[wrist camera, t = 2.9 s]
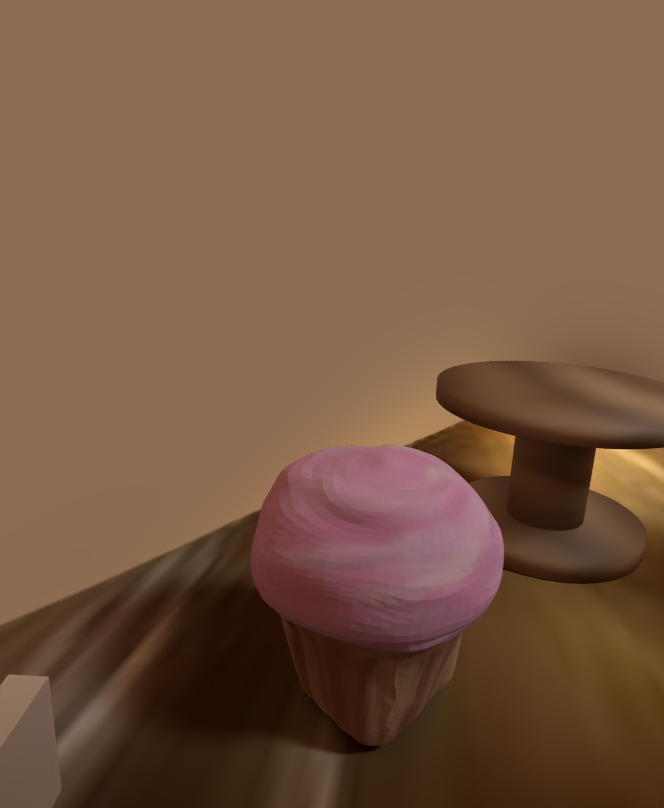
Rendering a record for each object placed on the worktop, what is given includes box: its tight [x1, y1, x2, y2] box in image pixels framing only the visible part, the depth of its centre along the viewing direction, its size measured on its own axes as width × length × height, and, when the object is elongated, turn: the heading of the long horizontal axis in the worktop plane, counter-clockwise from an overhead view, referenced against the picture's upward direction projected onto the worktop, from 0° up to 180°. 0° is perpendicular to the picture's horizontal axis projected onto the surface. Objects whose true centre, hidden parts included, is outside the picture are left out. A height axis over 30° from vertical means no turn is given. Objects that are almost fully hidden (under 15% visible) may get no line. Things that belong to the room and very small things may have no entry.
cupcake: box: [251, 445, 504, 746], centre depth 21 cm, size 9×9×10 cm
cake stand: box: [436, 361, 664, 583], centre depth 34 cm, size 14×14×9 cm
